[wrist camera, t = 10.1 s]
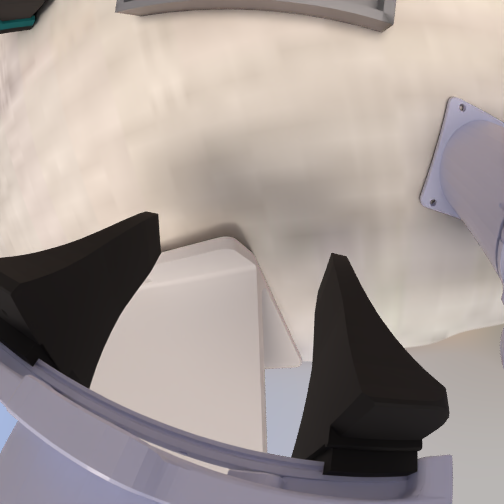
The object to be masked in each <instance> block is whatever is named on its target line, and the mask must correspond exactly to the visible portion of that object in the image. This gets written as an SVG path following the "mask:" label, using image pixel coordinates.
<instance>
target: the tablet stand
mask: <svg viewBox="0 0 504 504" xmlns="http://www.w3.org/2000/svg"><path fill="white" fill-rule="evenodd" d="M301 363H302V358H301V355H300V353H299V351H298V349H297V347H296V345H295V342H294V340H293V338H292V336H291V334H290V331H289V329H288V327H287V325H286V323H285V321H284V318H283V316H282V314H281V312H280V310H279V308H278V305H277V303H276V301H275V299H274V297H273V295H272V292H271V290H270V288H269V286H268V284H267V282H266V279H265V277H264V275H263V273H262V271H261V269H260V267H259V264H258V262H257V260H256V258H255V256H254V254H253V253H252V252H251V251H250V250H248V249H247V248H246V247H245V246H244V245H242V244H241V243H240V242H239V241H238V240H236V239H235V238H233V237H227V236H224V237H219V238H215V239H211V240H207V241H203V242H199V243H195V244H192V245H188V246H184V247H180V248H176V249H173V250H169V251H165V252H162V253H161V254H160V256H159V258H158V260H157V262H156V264H155V265H154V267H153V269H152V271H151V272H150V274H149V275H148V276H147V278H146V279H145V281H144V282H143V283H142V285H141V286H140V287H139V289H138V290H137V292H136V293H135V294H134V296H133V297H132V299H131V300H130V301H129V303H128V304H127V305H126V307H125V308H124V310H123V312H122V313H121V315H120V316H119V318H118V320H117V322H116V324H115V326H114V328H113V330H112V332H111V334H110V336H109V338H108V340H107V342H106V345H105V347H104V349H103V352H102V354H101V357H100V359H99V362H98V364H97V367H96V370H95V373H94V376H93V379H92V382H91V385H90V390H92V391H94V392H96V393H98V394H100V395H102V396H103V397H105V398H107V399H109V400H111V401H114V402H116V403H118V404H120V405H122V406H124V407H126V408H128V409H131V410H133V411H135V412H137V413H140V414H142V415H144V416H147V417H149V418H152V419H154V420H157V421H159V422H162V423H164V424H167V425H170V426H172V427H175V428H178V429H181V430H184V431H187V432H190V433H193V434H196V435H199V436H202V437H205V438H208V439H212V440H215V441H219V442H222V443H226V444H230V445H234V446H237V447H241V448H246V449H250V450H254V451H259V452H264V453H267V429H266V399H265V369H274V368H292V367H299V366H300V365H301ZM140 439H141V438H140ZM141 440H143V439H141ZM143 441H145V440H143ZM145 442H146V443H148V444H149V445H151V446H154V447H156V448H158V449H160V450H163V451H165V452H167V453H170V454H172V455H174V456H177V457H179V458H182V459H184V460H187V461H189V462H192V463H194V464H197V465H200V466H202V467H205V468H208V469H211V470H214V471H217V472H220V473H223V474H226V475H227V473H228V471H229V470H231V469H228V468H224V467H220V466H217V465H213V464H210V463H206V462H203V461H200V460H197V459H193V458H190V457H187V456H184V455H182V454H179V453H176V452H173V451H170V450H168V449H165V448H163V447H160V446H157V445H155V444H153V443H150V442H148V441H145Z"/></svg>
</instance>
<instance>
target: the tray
mask: <svg viewBox="0 0 504 504" xmlns="http://www.w3.org/2000/svg"><path fill="white" fill-rule="evenodd" d="M395 7H396V0H117V2H116V10H115V12H116V13H124V14H130V15H137V16H145V15H152V14H159V13H167V12H177V11H188V10H206V9H247V10H265V11H277V12H287V13H295V14H302V15H309V16H315V17H321V18H326V19H332V20H336V21H341V22H346V23H350V24H354V25H358V26H362V27H366V28H369V29H373V30H376V31H380V32H384V31H385V30H386V29H388V28H389V27H391V26H392V25H393V24H394V16H395Z"/></svg>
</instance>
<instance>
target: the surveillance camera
mask: <svg viewBox="0 0 504 504" xmlns="http://www.w3.org/2000/svg"><path fill="white" fill-rule="evenodd" d="M44 2H45V0H0V34H3V33H9V32H16V31H23V30H30V29H31V27H32V25H33V24H34V22H35V16H34V15H33V14H34V13H35V12H36V11H37V10H38V9H39V8H40V7H41V6H42V5H43V3H44ZM32 15H33V16H32Z"/></svg>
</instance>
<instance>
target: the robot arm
mask: <svg viewBox="0 0 504 504" xmlns="http://www.w3.org/2000/svg"><path fill="white" fill-rule="evenodd" d="M460 104H462V105H463V110H462V111H461V110H460V108H459V106H460ZM433 199H435V202H434V203H433V204H430V201H431V200H433ZM420 202H421V204H422V205H423V206H424V207H427V208H430V209H433V210H436V211H439V212H442V213H445V214H447V215H450V216H453V217H456V218H459V219H461V220H462V221H463V222H464V223H465V225H466V226H467V227H468V229H469V230H470V232H471V233H472V235H473V236H474V238H475V239H476V240H477V242H478V243H479V245H480V246H481V248H482V250H483V251H484V253H485V254H486V256H487V257H488V259H489V261H490V262H491V264H492V265H493V267H494V269H495V270H496V272H497V274H498V276H499V277H500V279H501V281H502V284H503V294H502V298H501V300H502V302H503V304H504V123H503V122H502V121H500V120H498V119H497V118H495V117H493V116H491V115H490V114H488V113H486V112H484V111H483V110H481V109H479V108H477V107H475V106H473V105H471V104H469V103H467V102H465V101H463V100H461V99H459V98H456V97H451V98H450V99H449V100H448V104H447V108H446V113H445V117H444V121H443V125H442V129H441V132H440V136H439V140H438V143H437V147H436V150H435V154H434V157H433V160H432V163H431V166H430V170H429V173H428V176H427V179H426V182H425V184H424V187H423V190H422V193H421V196H420ZM160 254H161V248H160V235H159V220H158V214H156V213H151V212H143V213H140V214H137V215H135V216H132V217H130V218H128V219H125V220H123V221H121V222H119V223H116V224H114V225H112V226H110V227H108V228H105V229H103V230H101V231H98V232H96V233H94V234H91V235H89V236H87V237H84V238H82V239H79V240H76V241H74V242H71V243H68V244H65V245H62V246H59V247H55V248H51V249H48V250H44V251H40V252H36V253H31V254H26V255H20V256H13V257H4V258H0V402H1V403H2V404H3V405H4V406H5V407H6V408H7V411H8V412H9V413H10V414H11V415H12V416H14V417H15V418H16V419H17V420H18V422H17V424H16V426H15V427H14V429H13V431H12V433H11V434H10V436H9V438H8V440H7V442H6V444H5V446H4V447H3V449H2V451H1V453H0V504H452V492H453V491H452V490H453V467H452V455H442V456H429V457H423V458H420V459H417V451H420V450H421V449H422V439H423V438H424V437H426V436H428V435H429V434H431V433H432V432H434V431H435V430H437V429H438V428H439V427H441V426H442V425H443V424H444V423H445V422H446V420H447V419H448V418H449V406H448V399H447V392H446V388H445V387H444V386H443V385H442V384H440V383H439V382H438V381H437V380H436V379H435V378H433V377H432V376H431V375H430V374H429V373H428V372H426V371H425V370H424V369H423V368H422V367H421V366H420V365H419V364H418V363H417V362H416V361H415V360H414V359H413V358H412V356H411V355H410V354H409V353H408V352H407V351H406V350H405V349H404V348H403V346H402V345H401V344H400V343H399V342H398V340H397V339H396V338H395V337H394V336H393V334H392V333H391V332H390V330H389V329H388V328H387V326H386V325H385V323H384V322H383V321H382V319H381V318H380V316H379V315H378V313H377V312H376V310H375V308H374V307H373V305H372V304H371V302H370V300H369V299H368V297H367V295H366V293H365V291H364V289H363V288H362V286H361V284H360V282H359V280H358V278H357V276H356V274H355V272H354V270H353V268H352V266H351V264H350V262H349V260H348V258H347V257H346V256H342V255H338V254H334V253H331V256H330V259H329V262H328V265H327V268H326V271H325V274H324V277H323V279H322V282H321V285H320V288H319V290H318V295H317V302H316V309H315V321H314V345H313V362H312V371H311V377H310V383H309V388H308V393H307V398H306V403H305V407H304V412H303V416H302V420H301V424H300V428H299V432H298V436H297V439H296V443H295V446H294V450H293V453H292V457H291V458H290V457H284V456H279V455H274V454H269V453H264V452H259V451H254V450H250V449H246V448H241V447H237V446H234V445H230V444H226V443H222V442H219V441H215V440H212V439H208V438H205V437H202V436H199V435H196V434H193V433H190V432H187V431H184V430H181V429H178V428H175V427H172V426H170V425H167V424H164V423H162V422H159V421H157V420H154V419H152V418H149V417H147V416H144V415H142V414H140V413H137V412H135V411H133V410H131V409H128V408H126V407H124V406H122V405H120V404H118V403H116V402H114V401H111V400H109V399H107V398H105V397H103V396H102V395H100V394H98V393H96V392H94V391H92V390H90V385H91V382H92V379H93V376H94V373H95V370H96V367H97V364H98V362H99V359H100V357H101V354H102V352H103V349H104V347H105V345H106V342H107V340H108V338H109V336H110V334H111V332H112V330H113V328H114V326H115V324H116V322H117V320H118V318H119V316H120V315H121V313H122V312H123V310H124V308H125V307H126V305H127V304H128V303H129V301H130V300H131V299H132V297H133V296H134V294H135V293H136V292H137V290H138V289H139V287H140V286H141V285H142V283H143V282H144V281H145V279H146V278H147V276H148V275H149V274H150V272H151V271H152V269H153V267H154V265H155V264H156V262H157V260H158V258H159V256H160ZM500 355H501V360H502V365H503V368H504V328H503V332H502V335H501V341H500ZM140 438H141V439H143V440H145V441H148V442H150V443H153V444H155V445H157V446H160V447H163V448H165V449H168V450H170V451H173V452H176V453H179V454H182V455H184V456H187V457H190V458H193V459H197V460H200V461H203V462H206V463H210V464H213V465H217V466H220V467H224V468H228V469H231V470H229V471H228V473H227V475H226V474H223V473H220V472H217V471H214V470H211V469H208V468H205V467H202V466H200V465H197V464H194V463H192V462H189V461H187V460H184V459H182V458H179V457H177V456H174V455H172V454H170V453H167V452H165V451H163V450H160V449H158V448H156V447H154V446H151V445H149V444H148V443H146V442H145V441H143V440H141V439H140Z"/></svg>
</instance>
